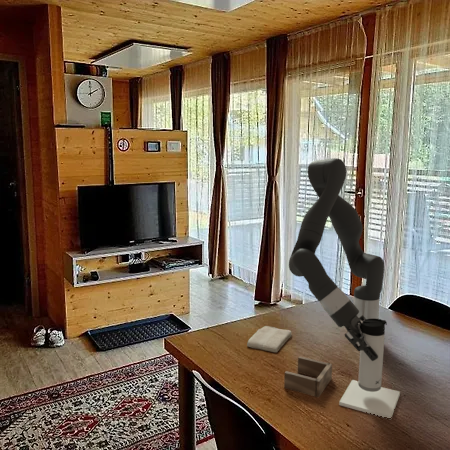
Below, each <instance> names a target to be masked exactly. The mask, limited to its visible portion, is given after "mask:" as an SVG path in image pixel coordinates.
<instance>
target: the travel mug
mask: <svg viewBox="0 0 450 450" xmlns="http://www.w3.org/2000/svg"><path fill="white" fill-rule="evenodd" d="M385 326H387V321H386V320H385V319H381V318H379V319H366V320H364V321H363V323H362V331H363V333H364V335H365V336H366V341H367V342H368V344H369V346H371V348H372V349H373V350H374V351H375V352H376V354H377V355H378V358H377V359H376V360H374V361H372V360H371V359H370V358H369V357H368V356H367V355H366V353H365V352H364V351H362V350H361V351H359V364H358V365H359V366H358V380H357V381H358V385H359V387H360V388H362V389H363V390H366V391H370V392H375V391H379V390H380V389H381V387H382V379H383V378H382V377H383V366H384V365H383V363H384V348H385V335H386V331H385V329H386V328H385Z"/></svg>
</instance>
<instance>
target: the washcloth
mask: <svg viewBox="0 0 450 450" xmlns="http://www.w3.org/2000/svg"><path fill="white" fill-rule="evenodd" d="M291 337H292V331H291V330H289V329H281V328H277V327H274V326H269V325H265V326H263V327H261V328H258V329H257V331H256V332H255V333H254V334H253V335H252V336H251V337H250V338H249V339H248V340H247V344H246V346H247V347H249V348H252V349H257V350H262V351H265V352H270V353H278V351H280V349H281V348H282V347H283V346H284V344H286V342H287V341H288V340H289V339H290V338H291Z"/></svg>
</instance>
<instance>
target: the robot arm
mask: <svg viewBox="0 0 450 450" xmlns="http://www.w3.org/2000/svg"><path fill="white" fill-rule="evenodd" d="M307 178H308V180H309V182H310V185H311V187H312V189H313V190H314V193H316V196H317V198H318V199H316V201H315V202H314V203H313V204H312V206H311V207H310V208H309V209H308V210H307V211H306V213H305V215H304V216H303V218H302V222H301V224H300V227H299V231H298V236H297V239H296V242H295V244H294V247H293V249H292V252H291V254H290V258H289V260H288V268H289V271H290V272H291V274H293V275H294V276H296V277H303V279H305V280H306V282H307V283H308V289H309V291H310V292H311V294H312V295H313V296H314V297H315V299H316V300H317V302H319V304H320V305H321V307H322V308H323V310H324V311H325V313H327V315H328V316H329V317H330V318H331V320H332V321H333V322H334V323H335V324H336V326H337V327H338V328H342V327H345V329H346V331H347V332H346V333H344V334H343V335H344V337H345V338H346V340H348V341H349V343H350V344H351V345H352V346H353V347H354V349H356V350H357V351H358V352H360V351H361V350H362V351H364V352H365V353H366V355H367V356H368V357H369V358H370V359H371V360H372V361H374V360H376V359H377V358H378V355H377V354H376V352H375V351H374V350H373V349H372V348H371V346H369V344H368V342H367V341H366V336H365V335H364V333H363V331H362V323H363V321H364V320H366V319H380V302H381V299H380V298H381V294H382V293H381V292H382V290H383V282H384V275H385V262H384V259H383V258H382V257H381V256H379V255H375V254H371V253H365V252H364V251H363V249H362V247H361V244H360V239H361V237H362V233H363V227H364V226H363V223H362V221H361V219H360V216H359V214H358V212H357V210H356V208H355V207H354V206H353V205H352V204H351V203H349V201H347V200H345V198H343V197H342V196H341V195H339V194H340V193H341V190H342V188H343V186H344V184H345V181H346V178H347V167H346V164H345V162H344V161H343V160H342V159H340V158H336V157H335V158H326V159H325V158H324V159H318V160H317V159H316V160H314V161H311V162H310V163H309V164H308V167H307ZM328 218H329V219H330V222H331V225H332V227H333V229H334V231H335V233H336V234H337V237H338V240H339V242H340V244H341V246H342V248H343V251H344V254H345V256H346V260H347V263H348V267H349V269H350V271H351V273H352V274H353V275H354V276H356V277H357V278H360V279H361V278H362V279H365V284H364V285H359V286H356V287H355V288H354V289H353V302H352V301H351V299H350V298H349V297H348V296H347V294H345V292H344V291H343V290H342V289H341V288H340V287H338V285H337V284H336V283H335V281H333V279H332V278H331V277H330V276H329V275H328V273H327V272H326V271H327V270H326V269H325V267H324V266H323V264H322V262H321V261H320V259H319V258H318V257H317V255H316V251H317V249H318V247H319V245H320V243H321V241H322V237H323V235H324V230H325V227H326V224H327V221H328Z"/></svg>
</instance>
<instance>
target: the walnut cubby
mask: <svg viewBox="0 0 450 450" xmlns="http://www.w3.org/2000/svg"><path fill="white" fill-rule="evenodd" d="M332 372H333V364H332V363H331V362H324V361H321V360H316V359H313V358H309V357H304V356H300V355H299V356H298V357H297V373H296V372H291V371H288V370H285V372H284V379H283V380H284V381H283V382H284V383H283V384H284V385H283V386H284V389H285V390H291V391H294V392H296V393H297V392H298V393H301V394H304V395H308V396H312V397H316V398H320V397H321V395H322V394H323V392H324V390H326V388H327V386H328V384H329V383H330V382H331V380H332ZM299 373H300V374H299ZM303 374H304V375H303ZM306 375H308V376H306ZM314 377H315V378H314Z"/></svg>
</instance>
